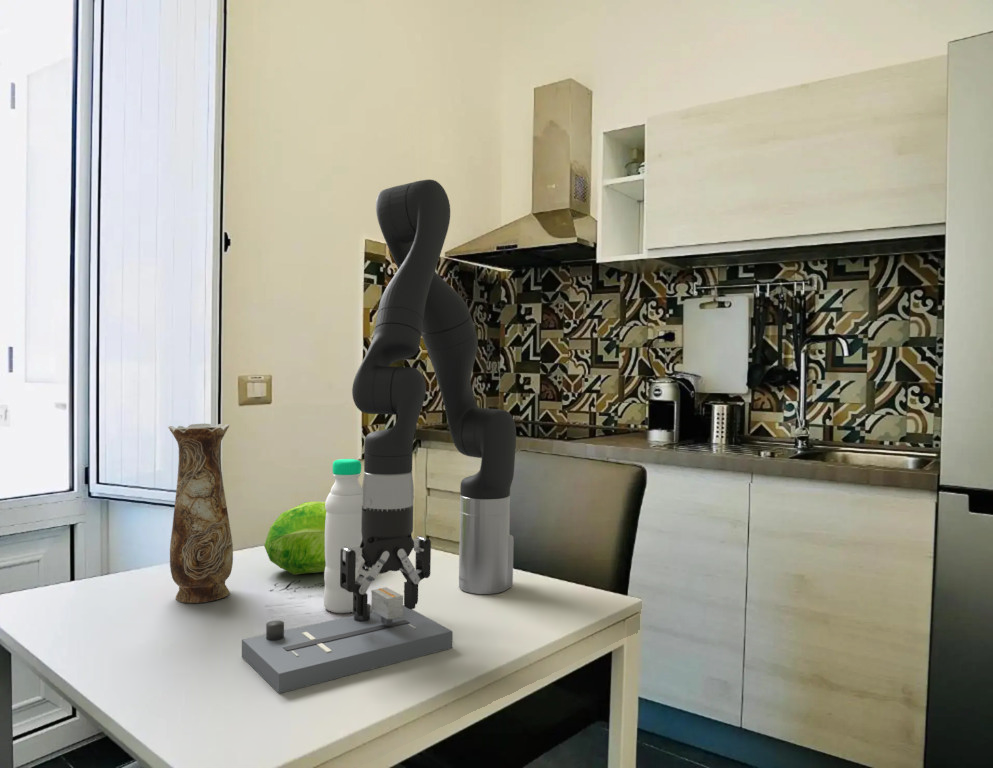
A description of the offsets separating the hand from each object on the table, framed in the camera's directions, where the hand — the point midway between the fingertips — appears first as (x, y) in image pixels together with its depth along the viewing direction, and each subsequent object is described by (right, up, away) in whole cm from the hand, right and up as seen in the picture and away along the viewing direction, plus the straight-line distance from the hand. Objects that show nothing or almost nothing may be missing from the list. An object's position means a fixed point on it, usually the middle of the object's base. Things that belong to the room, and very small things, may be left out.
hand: (385, 612), depth 109 cm
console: (-5, -5, -3) cm, 7 cm away
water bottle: (-9, -4, +16) cm, 19 cm away
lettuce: (-19, -3, +37) cm, 42 cm away
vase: (-36, -4, +21) cm, 41 cm away
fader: (0, -2, 0) cm, 2 cm away
